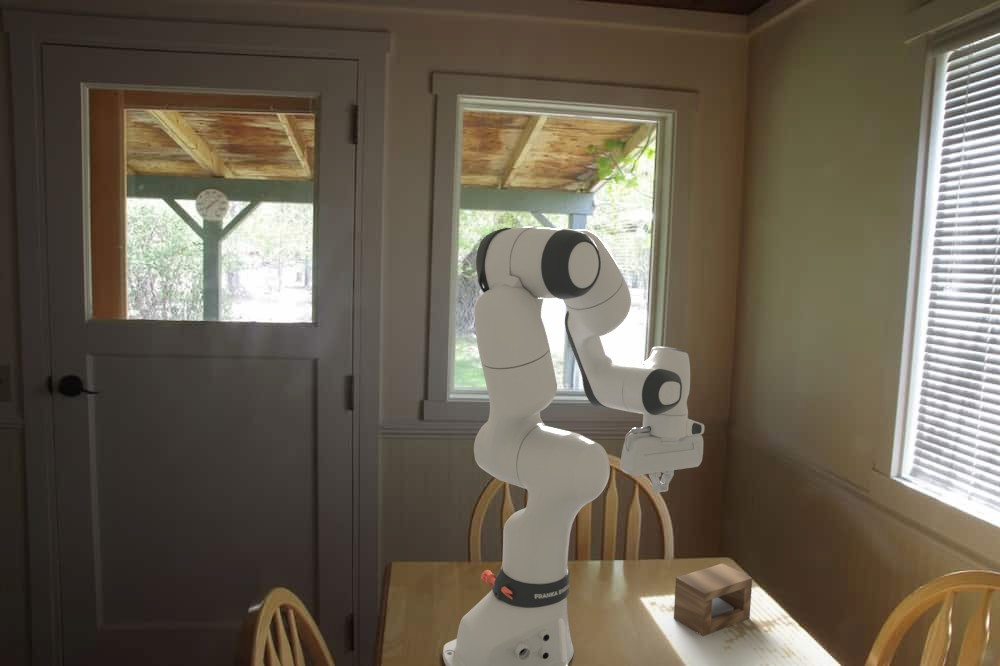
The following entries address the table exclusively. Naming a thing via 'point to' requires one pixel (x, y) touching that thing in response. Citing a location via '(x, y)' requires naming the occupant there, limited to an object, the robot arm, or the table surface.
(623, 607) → the table surface
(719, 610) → the grey rectangular block
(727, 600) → the shelf
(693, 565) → the table surface
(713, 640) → the table surface
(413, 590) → the table surface
